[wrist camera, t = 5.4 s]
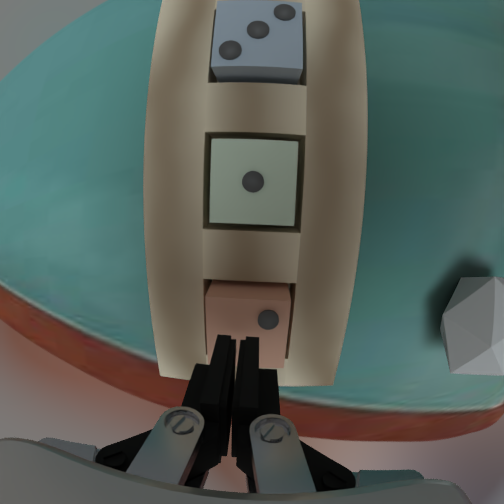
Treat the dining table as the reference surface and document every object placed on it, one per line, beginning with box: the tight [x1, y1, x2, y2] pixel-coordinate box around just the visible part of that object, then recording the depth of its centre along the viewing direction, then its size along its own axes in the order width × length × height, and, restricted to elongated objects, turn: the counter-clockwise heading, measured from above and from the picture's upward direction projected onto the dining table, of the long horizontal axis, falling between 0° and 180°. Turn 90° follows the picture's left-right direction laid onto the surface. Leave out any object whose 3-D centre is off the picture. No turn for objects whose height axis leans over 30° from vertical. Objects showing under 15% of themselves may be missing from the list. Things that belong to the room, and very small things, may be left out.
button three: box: [211, 0, 303, 85], centre depth 12 cm, size 4×4×3 cm
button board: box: [143, 0, 368, 386], centre depth 16 cm, size 12×26×4 cm, turn 178°
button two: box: [205, 279, 291, 368], centre depth 16 cm, size 4×4×3 cm
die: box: [440, 277, 504, 375], centre depth 17 cm, size 8×9×10 cm
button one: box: [210, 139, 298, 226], centre depth 16 cm, size 4×4×3 cm
